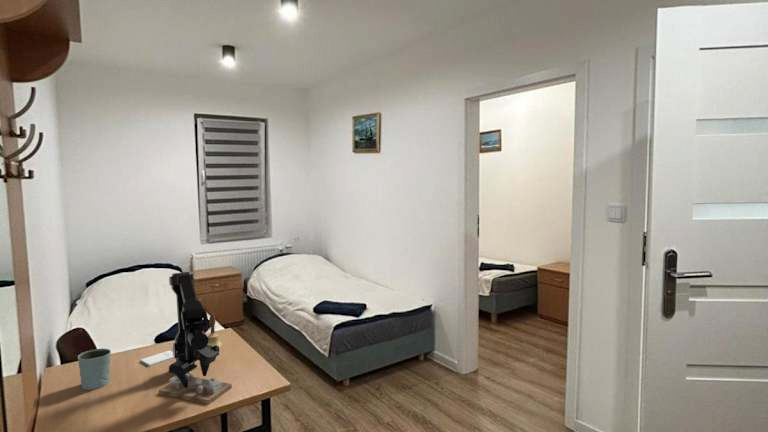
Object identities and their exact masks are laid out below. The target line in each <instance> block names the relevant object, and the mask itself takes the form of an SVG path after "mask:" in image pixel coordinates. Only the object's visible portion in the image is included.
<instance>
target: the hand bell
mask: <svg viewBox="0 0 768 432" xmlns="http://www.w3.org/2000/svg"><path fill="white" fill-rule="evenodd" d="M208 323H209V325H210V334H208V335H207V337H208V344H207V345H209V346H215V345H217V346H219V349H221V348H222V347H223V343H222V342H221V341H220V340H219V335H218V333H215V332H216V329H215V325H216V316H215V312H211V313H210V315H209V318H208Z"/></svg>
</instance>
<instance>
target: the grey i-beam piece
mask: <svg viewBox="0 0 768 432" xmlns="http://www.w3.org/2000/svg"><path fill="white" fill-rule="evenodd" d="M199 378H200V377H197V378H193V377H188V387H187V388H191V389H196V390H198V386H203V391H206V392H207V393H209V394H215V393H216V392H218V391H219V390H221V389H222V382H223V381H220V380H215V381H209V380H210V379H208V380H204V379H205V378H202V379H199ZM177 381H180V380H179V378H178V377H177V376H176V375H174V376H173V377H171V378H169V384H170V386H175V382H177ZM180 386H181V387H184V386H183V384H182V383H181V381H180Z"/></svg>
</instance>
